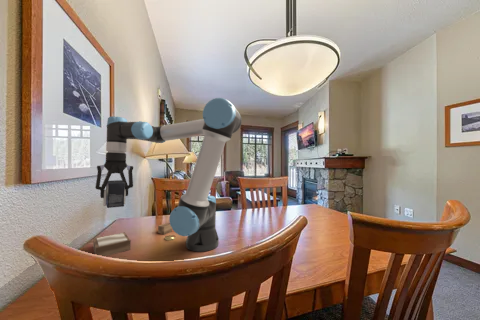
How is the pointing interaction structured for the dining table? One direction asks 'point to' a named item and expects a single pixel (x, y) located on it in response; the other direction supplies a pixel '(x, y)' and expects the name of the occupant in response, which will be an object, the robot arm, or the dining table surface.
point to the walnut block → (164, 229)
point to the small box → (115, 193)
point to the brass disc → (170, 237)
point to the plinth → (111, 244)
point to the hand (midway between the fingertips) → (114, 204)
